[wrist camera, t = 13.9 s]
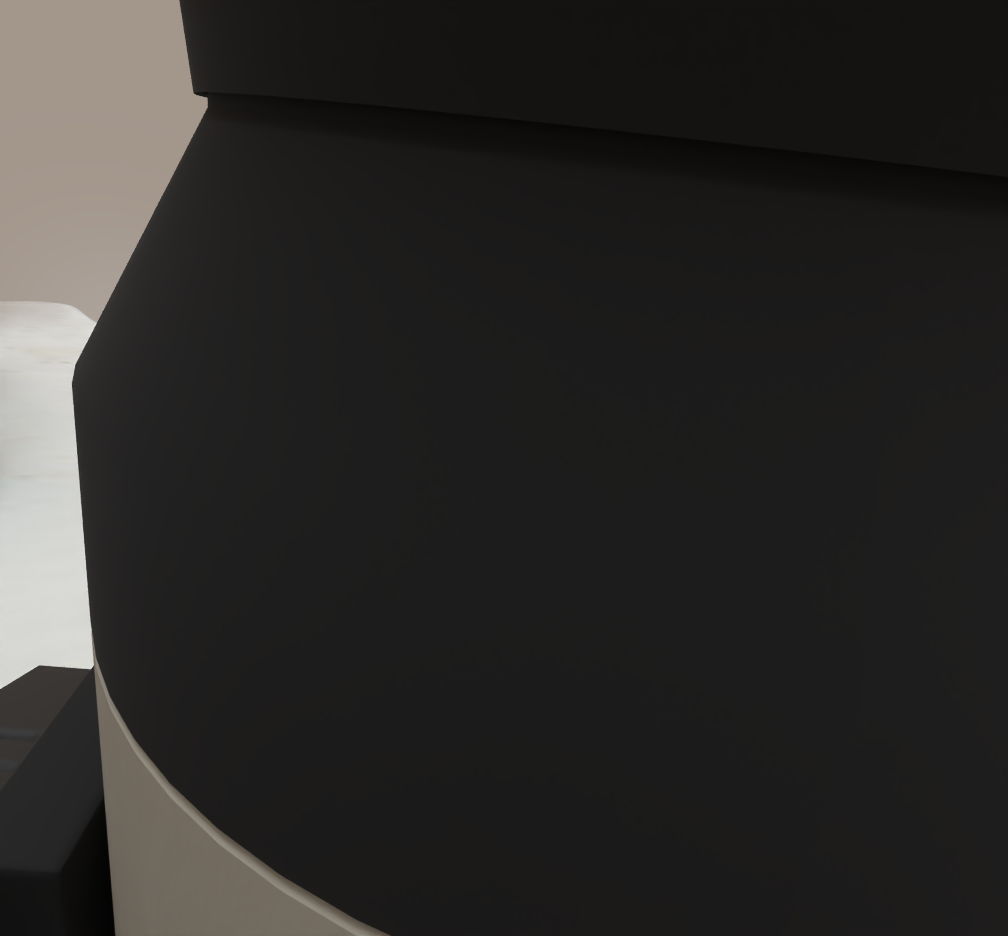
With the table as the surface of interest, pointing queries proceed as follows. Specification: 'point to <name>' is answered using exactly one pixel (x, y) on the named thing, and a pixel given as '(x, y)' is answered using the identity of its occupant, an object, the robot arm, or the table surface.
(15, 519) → the table surface
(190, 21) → the travel mug
